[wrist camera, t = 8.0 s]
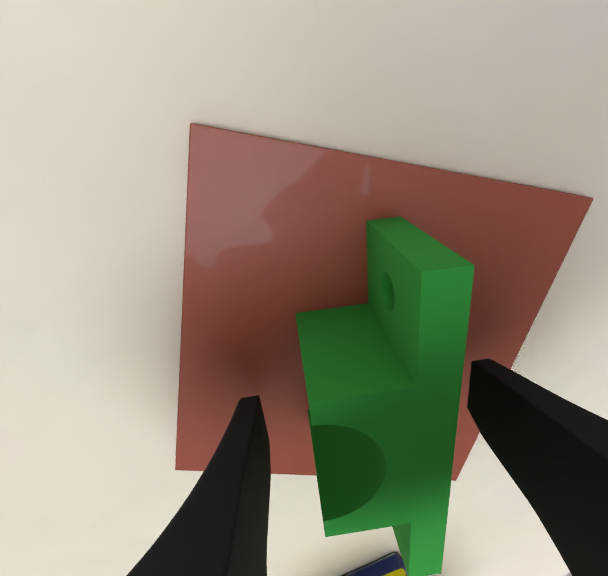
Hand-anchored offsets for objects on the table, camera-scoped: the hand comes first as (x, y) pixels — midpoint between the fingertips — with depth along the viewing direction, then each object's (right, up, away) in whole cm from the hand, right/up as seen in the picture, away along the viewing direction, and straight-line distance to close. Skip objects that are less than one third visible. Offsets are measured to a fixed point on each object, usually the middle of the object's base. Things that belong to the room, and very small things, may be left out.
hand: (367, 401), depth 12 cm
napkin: (0, +2, +2) cm, 2 cm away
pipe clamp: (0, +1, +2) cm, 2 cm away
